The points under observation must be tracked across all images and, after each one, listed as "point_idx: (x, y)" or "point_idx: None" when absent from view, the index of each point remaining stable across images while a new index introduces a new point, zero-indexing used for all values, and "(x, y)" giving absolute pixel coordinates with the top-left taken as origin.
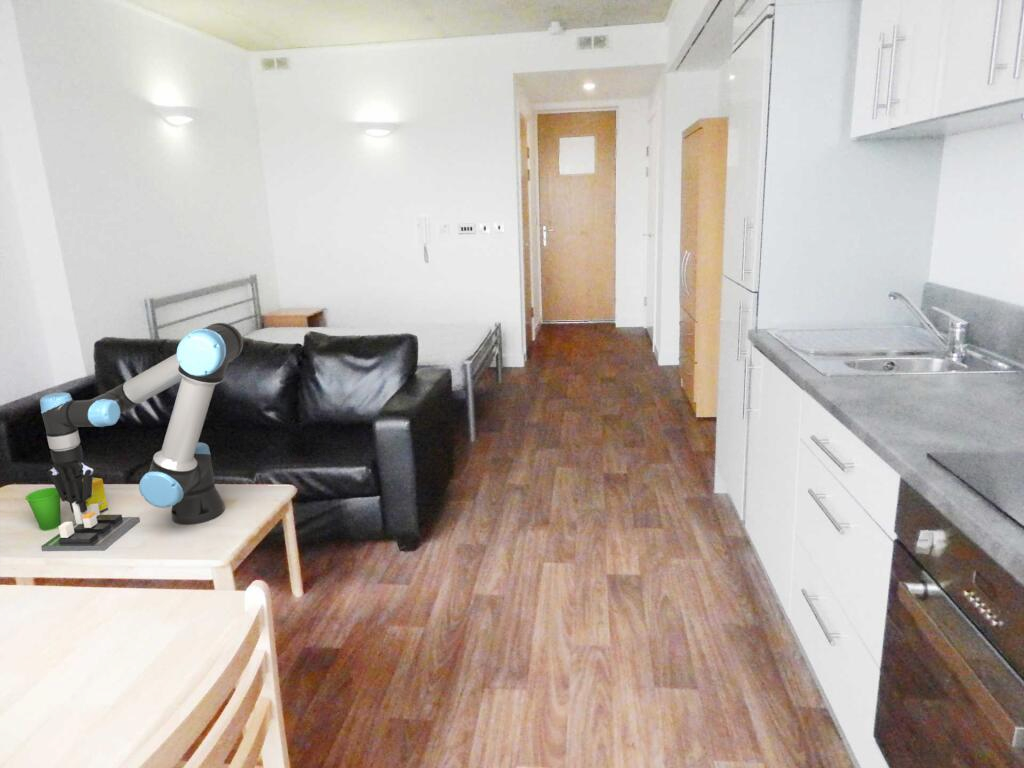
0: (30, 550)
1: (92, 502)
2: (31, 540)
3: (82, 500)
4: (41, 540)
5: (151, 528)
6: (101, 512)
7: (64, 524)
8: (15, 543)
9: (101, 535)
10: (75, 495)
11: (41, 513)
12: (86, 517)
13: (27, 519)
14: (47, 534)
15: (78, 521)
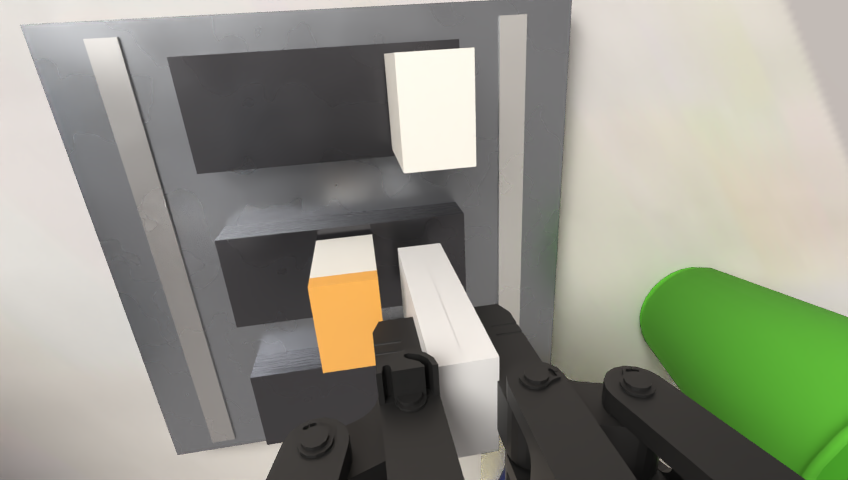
0: (642, 9)
1: None
2: (707, 149)
3: (374, 426)
4: (646, 153)
5: (11, 371)
6: (503, 470)
7: (440, 102)
8: (783, 104)
9: (215, 199)
10: (460, 472)
11: (786, 315)
12: (334, 279)
13: None
14: (652, 228)
15: (421, 255)
